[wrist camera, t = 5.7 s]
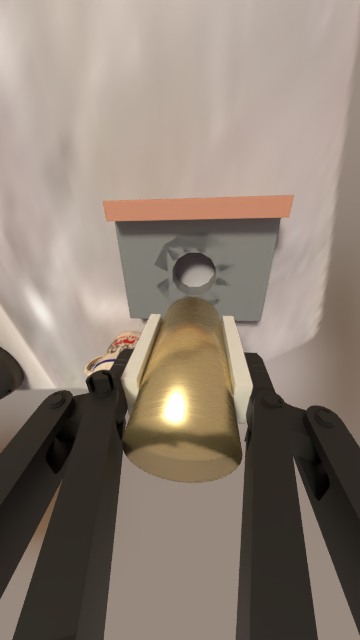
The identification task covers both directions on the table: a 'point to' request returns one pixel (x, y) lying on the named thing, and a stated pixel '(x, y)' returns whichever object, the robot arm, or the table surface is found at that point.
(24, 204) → the table surface
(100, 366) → the teacup with lid
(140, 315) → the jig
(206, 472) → the brass cylinder
